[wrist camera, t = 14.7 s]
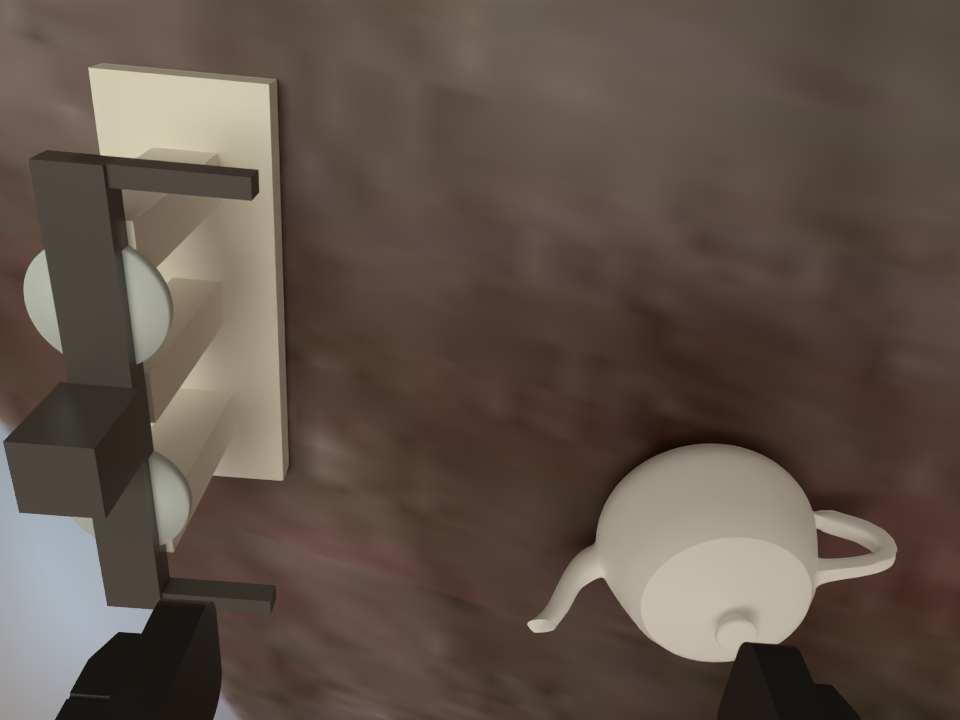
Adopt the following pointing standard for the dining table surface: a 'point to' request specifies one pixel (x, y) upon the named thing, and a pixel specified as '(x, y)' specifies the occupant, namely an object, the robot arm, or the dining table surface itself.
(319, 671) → the dining table surface
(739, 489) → the teapot
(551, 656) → the dining table surface
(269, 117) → the display stand
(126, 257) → the spectacle frame
